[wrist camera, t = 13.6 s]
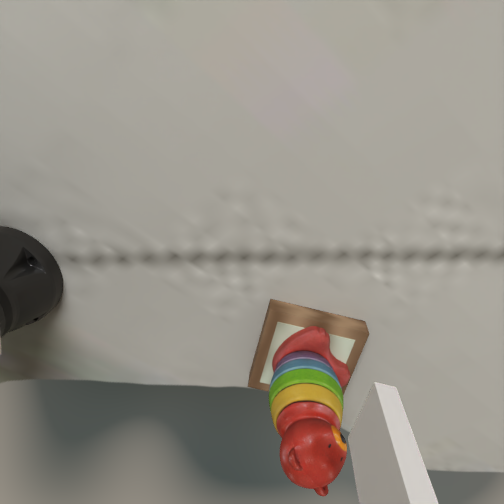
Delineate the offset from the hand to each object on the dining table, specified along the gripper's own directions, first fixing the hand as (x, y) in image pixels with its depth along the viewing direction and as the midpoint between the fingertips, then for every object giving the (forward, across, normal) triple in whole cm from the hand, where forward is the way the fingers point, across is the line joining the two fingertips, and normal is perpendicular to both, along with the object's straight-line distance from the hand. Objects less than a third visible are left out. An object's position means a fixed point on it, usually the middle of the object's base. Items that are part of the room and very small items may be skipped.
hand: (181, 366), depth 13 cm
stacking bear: (+34, +13, -25) cm, 44 cm away
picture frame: (+37, +13, -25) cm, 46 cm away
